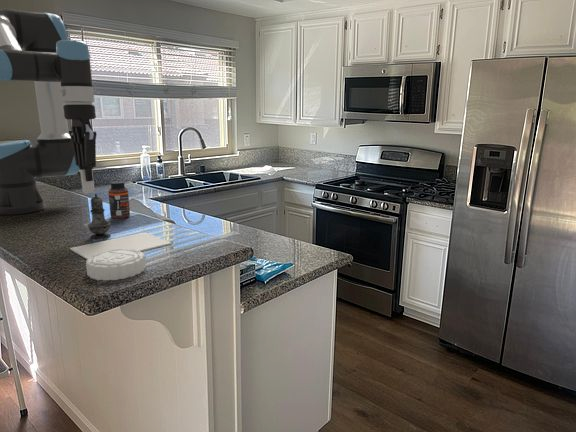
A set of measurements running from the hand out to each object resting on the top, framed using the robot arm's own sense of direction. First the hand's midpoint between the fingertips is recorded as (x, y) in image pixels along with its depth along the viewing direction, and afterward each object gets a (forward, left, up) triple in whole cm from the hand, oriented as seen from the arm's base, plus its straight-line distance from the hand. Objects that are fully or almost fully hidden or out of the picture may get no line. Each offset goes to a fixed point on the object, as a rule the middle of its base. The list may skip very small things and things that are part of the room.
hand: (88, 192), depth 121 cm
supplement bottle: (-13, +14, -12) cm, 23 cm away
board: (+18, 0, -12) cm, 21 cm away
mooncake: (+33, -8, -12) cm, 36 cm away
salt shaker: (+5, 0, -12) cm, 13 cm away
